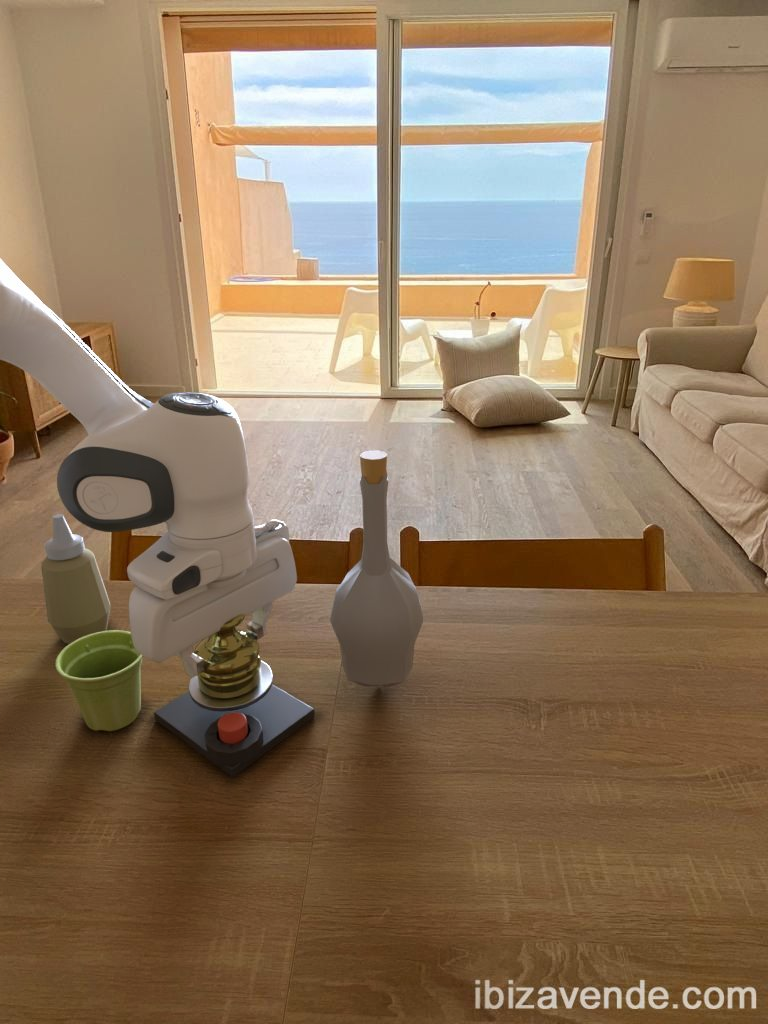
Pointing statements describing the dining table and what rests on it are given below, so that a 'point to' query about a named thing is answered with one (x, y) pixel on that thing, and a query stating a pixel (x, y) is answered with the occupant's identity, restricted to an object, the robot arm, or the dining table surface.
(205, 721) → the scale
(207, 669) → the gold ribbed tiered piece
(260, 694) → the weighing pan
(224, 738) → the tare button
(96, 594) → the squeeze bottle
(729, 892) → the dining table surface
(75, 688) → the plant pot
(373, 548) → the bottle
